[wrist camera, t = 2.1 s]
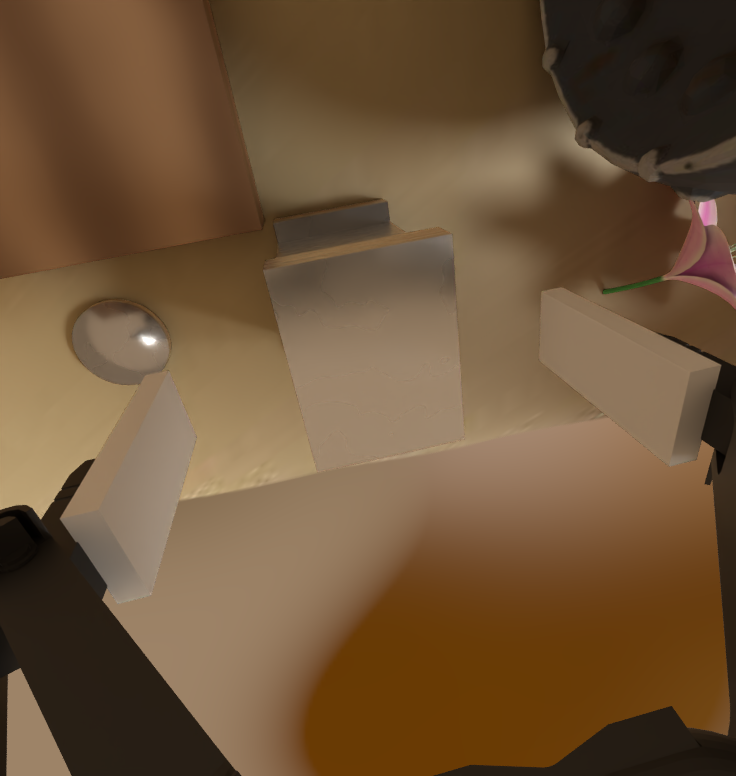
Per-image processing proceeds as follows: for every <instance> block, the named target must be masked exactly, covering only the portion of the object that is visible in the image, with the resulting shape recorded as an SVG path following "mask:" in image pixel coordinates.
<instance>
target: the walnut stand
mask: <svg viewBox="0 0 736 776" xmlns="http://www.w3.org/2000/svg"><path fill="white" fill-rule="evenodd" d="M264 222H265V220H264V216H263V212H262V209H261V205H260V201H259V197H258V193H257V189H256V185H255V181H254V177H253V173H252V169H251V165H250V161H249V157H248V153H247V150H246V146H245V142H244V138H243V134H242V130H241V126H240V122H239V118H238V114H237V110H236V106H235V102H234V98H233V95H232V91H231V87H230V83H229V79H228V75H227V71H226V67H225V63H224V59H223V55H222V51H221V47H220V43H219V39H218V36H217V32H216V28H215V24H214V20H213V16H212V12H211V8H210V4H209V0H0V279H2V278H7V277H13V276H18V275H23V274H29V273H34V272H39V271H44V270H50V269H55V268H60V267H66V266H71V265H76V264H82V263H87V262H92V261H97V260H103V259H108V258H113V257H119V256H124V255H129V254H135V253H140V252H145V251H150V250H156V249H161V248H166V247H172V246H177V245H182V244H188V243H193V242H198V241H203V240H209V239H214V238H219V237H225V236H230V235H235V234H241V233H246V232H251V231H256V230H262V227H263V224H264Z"/></svg>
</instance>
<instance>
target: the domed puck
mask: <svg viewBox="0 0 736 776" xmlns="http://www.w3.org/2000/svg"><path fill="white" fill-rule="evenodd" d="M72 343H73V347H74V350H75V352H76V355H77V356H78V358H79V360H80V361H81V362H82V364H83V365H84V366H85V367H86V368H87V369H88V370H89V371H91V372H92V373H93V374H95V375H96V376H98V377H100V378H102V379H104V380H106V381H109V382H112V383H115V384H121V385H136V384H141V382H142V380H143V379H144V377H145V375H149V374H153V373H158V372H161V371H162V370H163V368H164V367H165V365H166V363H167V361H168V359H169V357H170V353H171V339H170V336H169V333H168V330H167V328H166V327H165V325H164V323H163V322H162V321H161V320H160V318H159V317H158V316H157V315H156V314H154V313H153V312H152V311H151V310H149V309H148V308H146V307H144V306H142V305H140V304H138V303H135V302H132V301H128V300H122V299H110V300H105V301H101V302H98V303H96V304H94V305H92V306H91V307H89V308H88V309H87V310H86V311H84V312H83V313H82V314H81V315H80V316H79V317H78V319H77V320H76V322H75V324H74V327H73V331H72Z"/></svg>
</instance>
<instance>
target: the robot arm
mask: <svg viewBox="0 0 736 776" xmlns="http://www.w3.org/2000/svg"><path fill="white" fill-rule="evenodd" d="M539 361H540V362H541V363H542V364H544V365H545V366H546V367H547V368H549V369H550V370H551V371H552V372H554V373H555V374H556V375H557V376H558V377H560V378H561V379H562V380H563V381H565V382H566V383H567V384H568V385H569V386H571V387H572V388H573V389H574V390H576V391H577V392H578V393H579V394H581V395H582V396H583V397H584V398H585V399H587V400H588V401H589V402H590V403H592V404H593V405H594V406H595V407H597V408H598V409H599V410H600V411H601V412H603V413H604V414H605V415H606V416H608V417H609V418H610V419H611V420H612V421H614V422H615V423H616V424H617V425H619V426H620V427H621V428H622V429H624V430H625V431H626V432H627V433H628V434H630V435H631V436H632V437H633V438H635V439H636V440H637V441H638V442H639V443H641V444H642V445H643V446H644V447H646V448H647V449H648V450H649V451H651V452H652V453H653V454H655V456H657V457H658V458H659V459H660V460H662V461H663V462H664V463H665V464H667V465H668V466H673V465H678V464H681V463H686V462H689V461H693V460H696V459H697V456H698V452H699V448H700V445H701V441H702V440H703V441H705V442H706V443H708V444H709V445H710V446H712V447H713V448H715V449H714V452H713V456H712V459H711V463H710V466H709V470H708V474H707V478H706V481H705V484H707V485H710V484H711V481H712V480H713V492H714V506H715V517H716V530H717V544H718V557H719V569H720V583H721V595H722V608H723V621H724V634H725V645H726V646H725V647H726V659H727V672H728V685H729V697H730V725H729V730H728V736H726V735H723V734H719V733H716V732H712V731H707V730H701V729H694V728H687V727H686V726H685V724H684V723H683V721H682V720H681V719H680V717H679V716H678V714H677V713H676V711H675V710H674V709H673V707H672V706H670V707H666V708H663V709H660V710H656V711H653V712H649V713H646V714H643V715H639V716H636V717H633V718H629V719H625V720H622V721H619V722H615V723H612V724H608V725H607V726H606V727H604V728H603V729H602V730H600V731H599V732H598V733H596V734H595V735H594V736H592V737H591V738H590V739H588V740H587V741H586V742H584V743H583V744H582V745H580V746H579V747H578V748H576V749H575V750H574V751H572V752H571V753H570V754H568V755H567V756H566V757H564V758H563V759H562V760H560V761H559V762H558V763H556V764H555V765H553V766H550V767H545V768H537V767H511V766H484V765H469V766H465V767H462V768H458V769H455V770H452V771H448V772H445V773H442V774H438V775H435V776H736V366H734V365H731V364H729V363H727V362H725V361H723V360H721V359H719V358H717V357H715V356H713V355H710V354H708V353H706V352H701V350H700V349H698V348H696V347H694V346H689V344H687V343H685V342H683V341H681V340H679V339H677V338H675V337H671V336H667V335H663V334H659V333H655V332H653V331H651V330H649V329H647V328H645V327H642V326H640V325H638V324H636V323H634V322H632V321H630V320H628V319H626V318H624V317H622V316H620V315H618V314H616V313H614V312H612V311H610V310H608V309H606V308H604V307H601V306H599V305H597V304H595V303H593V302H591V301H589V300H587V299H585V298H583V297H581V296H579V295H577V294H575V293H573V292H571V291H569V290H567V289H565V288H563V287H559V288H555V289H550V290H545V291H541V313H540V340H539ZM196 439H197V436H196V434H195V431H194V429H193V426H192V424H191V422H190V419H189V417H188V415H187V412H186V410H185V407H184V405H183V403H182V400H181V398H180V396H179V393H178V391H177V388H176V386H175V384H174V381H173V379H172V377H171V374H170V372H169V370H167V371H163V372H158V373H153V374H149V375H145V377H144V379H143V380H142V382H141V384H140V385H139V387H138V389H137V390H136V392H135V394H134V395H133V397H132V399H131V400H130V402H129V404H128V405H127V407H126V409H125V410H124V412H123V414H122V415H121V417H120V419H119V420H118V422H117V424H116V426H115V427H114V429H113V431H112V432H111V434H110V436H109V437H108V439H107V441H106V442H105V444H104V446H103V447H102V449H101V451H100V452H99V454H98V456H97V457H96V459H92V460H87V461H85V462H84V463H83V464H82V465H80V466H79V467H78V468H77V469H76V470H75V471H74V472H73V473H71V474H70V476H69V477H68V479H67V480H66V482H65V483H64V485H63V486H62V488H61V489H62V491H59V493H58V494H57V496H56V497H55V499H54V502H52V504H51V505H50V507H49V508H48V510H47V511H46V513H45V514H44V516H43V517H42V519H41V520H40V519H39V517H38V516H37V514H36V513H35V512H34V510H33V509H32V508H31V507H29V506H27V505H17V506H12V507H9V508H5V509H2V510H0V776H6V760H7V759H6V758H7V756H6V755H7V754H6V753H7V689H8V688H7V686H8V674H9V673H11V672H13V671H15V670H17V669H19V668H21V670H22V672H23V674H24V676H25V678H26V680H27V682H28V684H29V687H30V689H31V691H32V693H33V695H34V697H35V699H36V701H37V703H38V706H39V707H40V710H41V712H42V714H43V716H44V718H45V720H46V722H47V724H48V727H49V729H50V731H51V733H52V735H53V737H54V739H55V741H56V743H57V746H58V748H59V750H60V752H61V754H62V756H63V758H64V760H65V763H66V765H67V767H68V769H69V771H70V773H71V775H72V776H241V775H240V773H239V772H238V771H236V770H235V769H234V768H233V767H232V765H231V764H230V763H229V762H228V760H227V759H226V758H225V757H224V755H223V754H222V753H221V752H220V750H219V749H218V748H217V746H216V745H215V744H214V743H213V741H212V740H211V739H210V738H209V736H208V735H207V734H206V732H205V731H204V730H203V729H202V727H201V726H200V725H199V723H198V722H197V721H196V720H195V718H194V717H193V716H192V714H191V713H190V712H189V711H188V710H187V708H186V707H185V706H184V704H183V703H182V702H181V700H180V699H179V698H178V697H177V695H176V694H175V693H174V691H173V690H172V689H171V688H170V686H169V685H168V684H167V683H166V681H165V680H164V679H163V677H162V676H161V675H160V674H159V672H158V671H157V670H156V668H155V667H154V666H153V665H152V663H151V662H150V661H149V660H148V659H147V657H146V656H145V654H144V653H143V652H142V651H141V649H140V648H139V647H138V645H137V644H136V643H135V642H134V640H133V639H132V638H131V636H130V635H129V634H128V633H127V631H126V630H125V629H124V628H123V626H122V625H121V624H120V622H119V621H118V620H117V619H116V617H115V616H114V615H113V613H112V612H111V611H110V610H109V608H108V607H107V606H106V605H105V603H104V602H103V601H102V599H103V596H104V594H105V591H106V589H108V590H109V592H110V593H111V595H112V596H113V598H114V599H115V601H116V602H117V603H118V604H119V603H123V602H128V601H131V600H136V599H140V598H144V597H148V596H151V594H152V590H153V587H154V584H155V580H156V577H157V574H158V570H159V567H160V563H161V560H162V556H163V552H164V549H165V546H166V542H167V539H168V535H169V532H170V529H171V525H172V522H173V518H174V515H175V511H176V508H177V504H178V501H179V497H180V494H181V490H182V487H183V484H184V480H185V477H186V473H187V470H188V466H189V463H190V459H191V456H192V452H193V449H194V445H195V442H196Z"/></svg>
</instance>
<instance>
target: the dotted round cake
mask: <svg viewBox="0 0 736 776" xmlns="http://www.w3.org/2000/svg"><path fill="white" fill-rule="evenodd" d="M540 10H541V19H542V26H543V33H544V40H545V47H546V49H545V52H544V55H543V57H542V66H543V68H544V69H545V70H546V71H547V72H548V73H549V74H550V75H551V76H552V79H553V82H554V85H555V87H556V90H557V93H558V96H559V98H560V100H561V102H562V104H563V106H564V108H565V110H566V112H567V114H568V115H569V117H570V119H571V121H572V123H573V125H574V127H575V129H576V134H575V140H576V141H577V143H578V144H579V145H580V146H581V147H583V148H592V149H593V150H594V151H596V152H597V153H598V154H600V155H601V156H602V157H604V158H605V159H606V160H608V161H609V162H610V163H612V164H614V165H616V166H618V167H620V168H622V169H624V170H627V171H629V172H631V173H633V174H635V175H638V176H640V177H641V178H643V179H644V180H646V181H647V182H653V181H655V182H658V183H661V184H665V185H668V186H671V188H672V189H673V190H674V191H675V192H676V193H677V195H678V196H679V197H681V198H683V199H686V200H692V201H698V202H707V201H710V200H713V199H716V198H719V197H721V196H724V195H727V194H736V0H540Z"/></svg>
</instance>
